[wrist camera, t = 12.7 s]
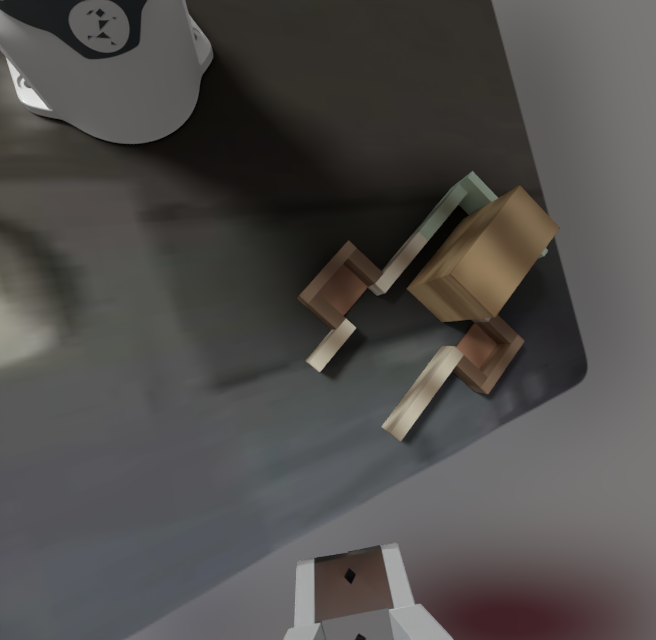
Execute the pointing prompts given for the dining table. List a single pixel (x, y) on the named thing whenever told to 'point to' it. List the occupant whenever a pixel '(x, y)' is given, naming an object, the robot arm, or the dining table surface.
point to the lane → (360, 273)
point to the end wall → (477, 196)
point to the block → (484, 259)
